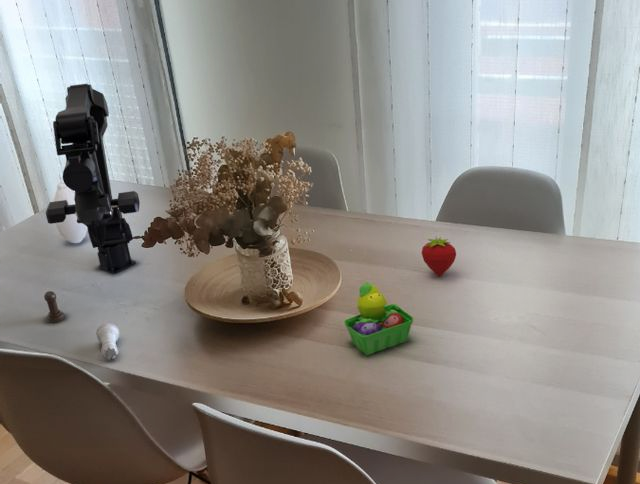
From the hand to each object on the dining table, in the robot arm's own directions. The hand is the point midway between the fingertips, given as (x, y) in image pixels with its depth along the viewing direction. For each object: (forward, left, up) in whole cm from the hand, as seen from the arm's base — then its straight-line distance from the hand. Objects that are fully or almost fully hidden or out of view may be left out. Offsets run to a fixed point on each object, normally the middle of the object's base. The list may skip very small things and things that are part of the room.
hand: (102, 244), depth 185 cm
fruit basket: (-14, +62, -12) cm, 65 cm away
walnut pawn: (+14, -2, -12) cm, 19 cm away
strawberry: (-43, +57, -12) cm, 72 cm away
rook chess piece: (+14, +16, -10) cm, 23 cm away
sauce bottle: (-14, -32, -12) cm, 37 cm away
